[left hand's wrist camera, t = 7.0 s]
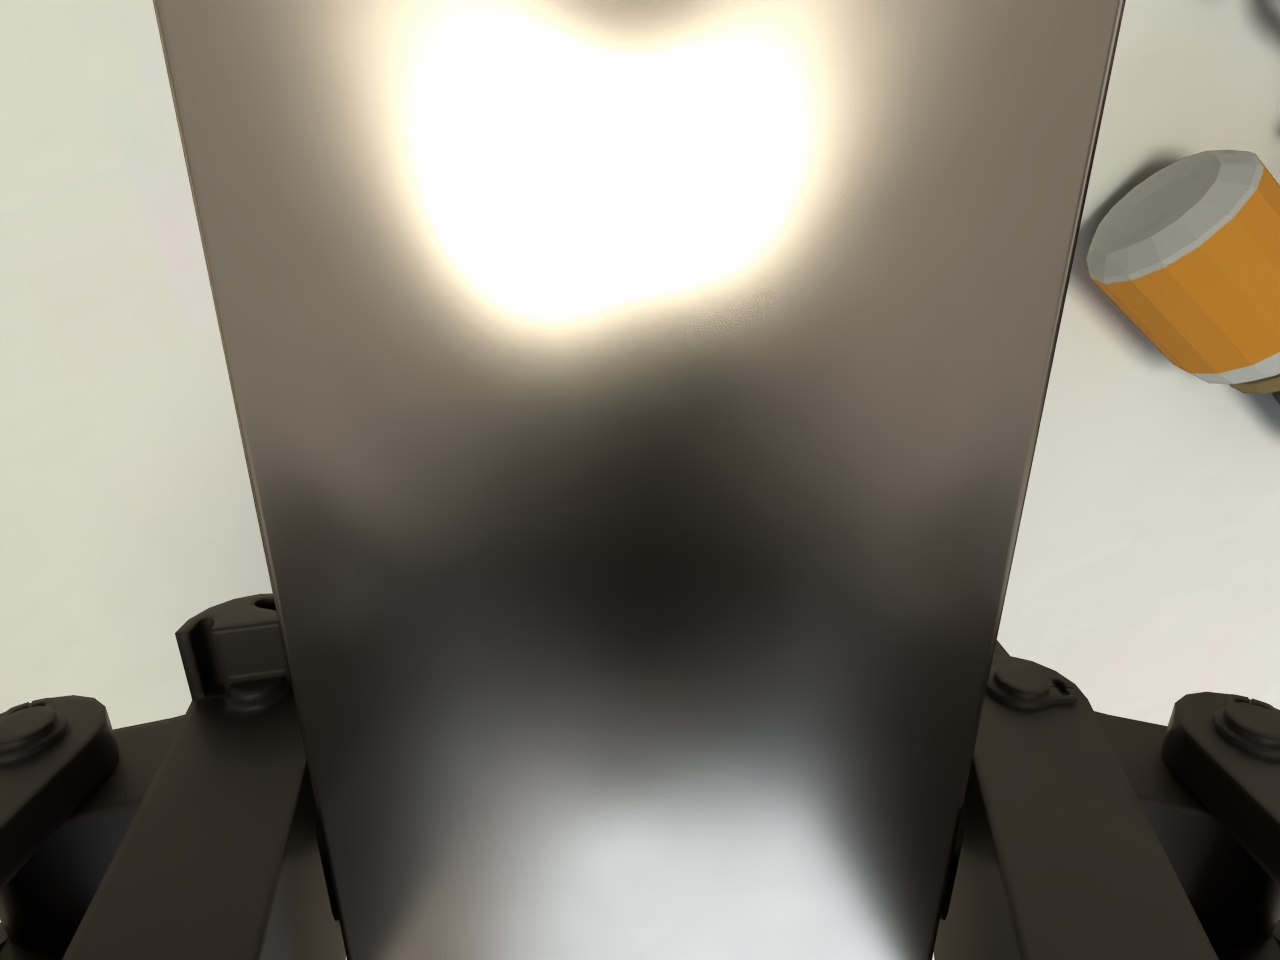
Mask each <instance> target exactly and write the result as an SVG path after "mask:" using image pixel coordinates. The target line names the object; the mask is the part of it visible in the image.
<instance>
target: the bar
mask: <svg viewBox="0 0 1280 960" xmlns="http://www.w3.org/2000/svg"><path fill="white" fill-rule="evenodd" d="M1125 1H1126V0H153V3H154V8H155V13H156V18H157V23H158V28H159V33H160V38H161V43H162V48H163V53H164V58H165V63H166V68H167V73H168V77H169V82H170V87H171V92H172V97H173V102H174V107H175V112H176V117H177V122H178V127H179V132H180V137H181V142H182V147H183V152H184V157H185V161H186V166H187V171H188V176H189V181H190V186H191V191H192V196H193V201H194V206H195V211H196V216H197V221H198V226H199V231H200V236H201V241H202V245H203V250H204V255H205V260H206V265H207V270H208V275H209V280H210V285H211V290H212V295H213V300H214V305H215V310H216V315H217V320H218V325H219V329H220V334H221V339H222V344H223V349H224V354H225V359H226V364H227V369H228V374H229V379H230V384H231V389H232V394H233V399H234V404H235V409H236V413H237V418H238V423H239V428H240V433H241V438H242V443H243V448H244V453H245V458H246V463H247V468H248V473H249V478H250V483H251V488H252V493H253V497H254V502H255V507H256V512H257V517H258V522H259V527H260V532H261V537H262V542H263V547H264V552H265V557H266V562H267V567H268V572H269V577H270V581H271V586H272V591H273V596H274V601H275V606H276V611H277V616H278V621H279V626H280V631H281V636H282V641H283V646H284V651H285V656H286V661H287V665H288V670H289V675H290V680H291V685H292V690H293V695H294V700H295V705H296V710H297V715H298V720H299V725H300V730H301V735H302V740H303V745H304V749H305V754H306V759H307V764H308V769H309V774H310V779H311V784H312V789H313V794H314V799H315V804H316V809H317V814H318V819H319V824H320V828H321V833H322V838H323V843H324V848H325V853H326V858H327V863H328V868H329V873H330V878H331V883H332V888H333V893H334V898H335V903H336V908H337V912H338V917H339V922H340V927H341V932H342V937H343V942H344V947H345V952H346V957H347V960H932V957H933V952H934V947H935V942H936V937H937V932H938V927H939V922H940V917H941V912H942V907H943V902H944V897H945V892H946V887H947V882H948V877H949V872H950V867H951V862H952V858H953V853H954V848H955V843H956V838H957V833H958V828H959V823H960V818H961V813H962V808H963V803H964V798H965V793H966V788H967V783H968V778H969V773H970V768H971V763H972V758H973V754H974V749H975V744H976V739H977V734H978V729H979V724H980V719H981V714H982V709H983V704H984V699H985V694H986V689H987V684H988V679H989V674H990V669H991V664H992V659H993V655H994V650H995V645H996V640H997V635H998V630H999V625H1000V620H1001V615H1002V610H1003V605H1004V600H1005V595H1006V590H1007V585H1008V580H1009V575H1010V570H1011V565H1012V560H1013V555H1014V551H1015V546H1016V541H1017V536H1018V531H1019V526H1020V521H1021V516H1022V511H1023V506H1024V501H1025V496H1026V491H1027V486H1028V481H1029V476H1030V471H1031V466H1032V461H1033V456H1034V451H1035V447H1036V442H1037V437H1038V432H1039V427H1040V422H1041V417H1042V412H1043V407H1044V402H1045V397H1046V392H1047V387H1048V382H1049V377H1050V372H1051V367H1052V362H1053V357H1054V352H1055V348H1056V343H1057V338H1058V333H1059V328H1060V323H1061V318H1062V313H1063V308H1064V303H1065V298H1066V293H1067V288H1068V283H1069V278H1070V273H1071V268H1072V263H1073V258H1074V253H1075V248H1076V244H1077V239H1078V234H1079V229H1080V224H1081V219H1082V214H1083V209H1084V204H1085V199H1086V194H1087V189H1088V184H1089V179H1090V174H1091V169H1092V164H1093V159H1094V154H1095V149H1096V145H1097V140H1098V135H1099V130H1100V125H1101V120H1102V115H1103V110H1104V105H1105V100H1106V95H1107V90H1108V85H1109V80H1110V75H1111V70H1112V65H1113V60H1114V55H1115V50H1116V45H1117V41H1118V36H1119V31H1120V26H1121V21H1122V16H1123V11H1124V6H1125Z"/></svg>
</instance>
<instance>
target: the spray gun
mask: <svg viewBox="0 0 1280 960" xmlns="http://www.w3.org/2000/svg"><path fill="white" fill-rule="evenodd" d="M1086 261H1087V266H1088V270H1089V275H1090V278H1091V279H1092V280H1093V281H1094V282H1095V283H1096V284H1097V285H1098V286H1099V287H1100V288H1101V289H1102V290H1103V291H1104V293H1105V294H1106V295H1107V296H1108V297H1109V298H1110V299H1111V300H1112V301H1113V302H1114V303H1115V304H1116V305H1117V306H1118V307H1119V308H1120V309H1121V310H1122V311H1123V312H1124V313H1125V314H1126V315H1127V316H1128V318H1129V319H1130V320H1131V321H1132V322H1133V323H1134V324H1135V325H1136V326H1137V327H1138V328H1139V329H1140V330H1141V331H1142V332H1143V333H1144V334H1145V335H1146V336H1147V337H1148V338H1149V339H1150V340H1151V341H1152V342H1153V344H1154V345H1155V346H1156V347H1157V348H1158V349H1159V350H1160V351H1161V352H1162V353H1163V354H1164V355H1165V356H1166V357H1167V358H1168V359H1169V360H1170V361H1171V362H1172V363H1173V364H1174V365H1176V366H1178V367H1179V368H1181V369H1183V370H1185V371H1187V372H1189V373H1191V374H1193V375H1194V376H1196V377H1198V378H1200V379H1202V380H1204V381H1206V382H1208V383H1219V384H1230V385H1231V387H1233V388H1235V389H1237V390H1239V391H1241V392H1243V393H1259V394H1267V393H1271V392H1272V394H1273V396H1274V397H1275V399H1276V400H1277V401H1278V403H1279V404H1280V186H1279V184H1278V183H1277V182H1276V180H1275V179H1274V178H1273V176H1272V175H1271V174H1270V173H1269V171H1268V170H1267V169H1266V167H1265V166H1264V165H1263V163H1262V162H1261V161H1260V159H1259V158H1258V157H1257V155H1256V154H1254V153H1251V152H1246V151H1235V150H1217V151H1205V152H1201V153H1198V154H1195V155H1191V156H1188V157H1185V158H1182V159H1180V160H1178V161H1176V162H1174V163H1172V164H1170V165H1168V166H1167V167H1165V168H1163V169H1161V170H1159V171H1157V172H1156V173H1154V174H1153V175H1151V176H1150V177H1148V178H1147V179H1146V180H1144V181H1143V182H1141V183H1140V184H1138V185H1137V186H1136V187H1134V188H1133V189H1132V190H1131V191H1130V192H1128V193H1127V194H1126V195H1125V196H1124V197H1123V198H1122V199H1121V200H1120V201H1119V202H1117V203H1116V204H1115V205H1114V206H1113V207H1112V208H1111V210H1110V211H1109V212H1108V213H1107V215H1106V216H1105V217H1104V218H1103V220H1102V221H1101V222H1100V223H1099V225H1098V227H1097V230H1096V232H1095V234H1094V237H1093V239H1092V242H1091V245H1090V248H1089V251H1088V254H1087V257H1086Z"/></svg>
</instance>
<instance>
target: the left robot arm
mask: <svg viewBox="0 0 1280 960" xmlns="http://www.w3.org/2000/svg"><path fill="white" fill-rule="evenodd" d="M175 635H176V639H177V643H178V647H179V651H180V654H181V658H182V662H183V666H184V670H185V673H186V677H187V681H188V685H189V689H190V692H191V696H192V702H191V704H190V706H189V708H188V710H187V712H186V714H185V715H182V716H178V717H174V718H170V719H165V720H160V721H155V722H150V723H144V724H139V725H134V726H129V727H124V728H119V729H114V730H113V729H112V726H111V723H110V720H109V717H108V714H107V710H106V707H105V706H104V705H103V704H101V703H100V702H99V701H97V700H96V699H95V698H90V697H83V696H75V695H72V696H63V697H55V698H44V699H40V700H35V701H32V703H29V702H27V703H24V704H21V705H18V706H15V707H13V708H10V709H9V710H7V711H6V712H4V713H2V714H0V920H1V923H0V960H346V952H345V947H344V942H343V937H342V932H341V927H340V922H339V917H338V912H337V908H336V903H335V898H334V893H333V888H332V883H331V878H330V873H329V868H328V863H327V858H326V853H325V848H324V843H323V838H322V833H321V828H320V824H319V819H318V814H317V809H316V804H315V799H314V794H313V789H312V784H311V779H310V774H309V769H308V764H307V759H306V754H305V749H304V745H303V740H302V735H301V730H300V725H299V720H298V715H297V710H296V705H295V700H294V695H293V690H292V685H291V680H290V675H289V670H288V665H287V661H286V656H285V651H284V646H283V641H282V636H281V631H280V626H279V621H278V616H277V611H276V606H275V601H274V596H273V594H258V595H253V596H248V597H242V598H237V599H233V600H230V601H227V602H225V603H222V604H219V605H216V606H213V607H211V608H208V609H207V610H205V611H203V612H201V613H200V614H198V615H196V616H194V617H193V618H191V619H189V620H188V621H187V622H186V623H185V624H184V625H183V626H182V627H181V628H180V629H179V630H178V631H177V632H176V633H175ZM1279 918H1280V710H1278V709H1276V708H1274V707H1273V706H1271V705H1269V704H1267V703H1264V702H1261V701H1258V700H1255V699H1252V700H1250V699H1248V697H1244V696H1239V695H1234V694H1222V693H1213V692H1202V693H1194V694H1187V695H1185V696H1184V697H1182V698H1181V699H1180V700H1178V701H1177V702H1176V703H1175V705H1174V708H1173V711H1172V715H1171V718H1170V721H1169V724H1168V726H1163V725H1158V724H1152V723H1147V722H1142V721H1137V720H1132V719H1127V718H1122V717H1117V716H1112V715H1107V714H1103V713H1099V712H1095V711H1093V709H1092V707H1091V705H1090V703H1089V701H1088V699H1087V698H1086V697H1085V695H1084V694H1083V693H1082V692H1081V691H1080V689H1079V688H1078V687H1077V686H1076V685H1075V684H1074V683H1073V682H1071V681H1070V680H1068V679H1067V678H1065V677H1064V676H1062V675H1061V674H1059V673H1058V672H1056V671H1054V670H1052V669H1049V668H1047V667H1045V666H1042V665H1040V664H1037V663H1035V662H1033V661H1029V660H1024V659H1020V658H1016V657H1011V656H1010V655H1009V654H1008V653H1007V652H1006V650H1005V649H1004V648H1003V647H1002V646H1001V644H1000V643H999V642H998V641H997V640H996V645H995V650H994V655H993V659H992V664H991V669H990V674H989V679H988V684H987V689H986V694H985V699H984V704H983V709H982V714H981V719H980V724H979V729H978V734H977V739H976V744H975V749H974V754H973V758H972V763H971V768H970V773H969V778H968V783H967V788H966V793H965V798H964V803H963V808H962V813H961V818H960V823H959V828H958V833H957V838H956V843H955V848H954V853H953V858H952V862H951V867H950V872H949V877H948V882H947V887H946V892H945V897H944V902H943V907H942V912H941V917H940V922H939V927H938V932H937V937H936V942H935V947H934V958H935V960H1280V919H1279Z"/></svg>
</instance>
